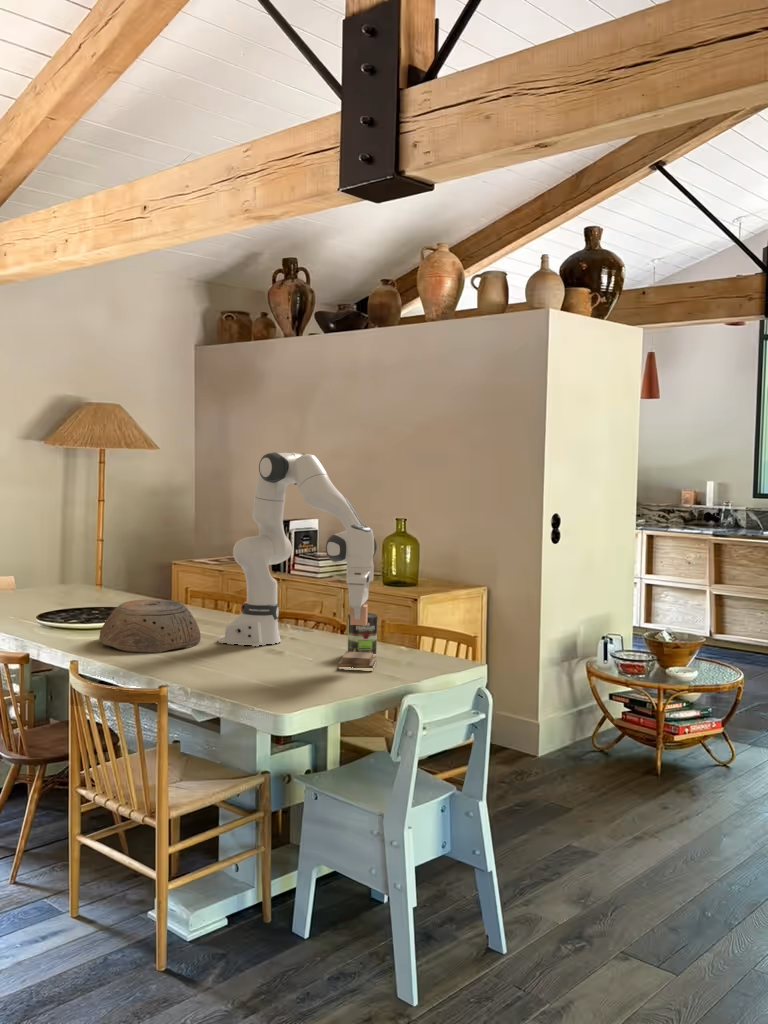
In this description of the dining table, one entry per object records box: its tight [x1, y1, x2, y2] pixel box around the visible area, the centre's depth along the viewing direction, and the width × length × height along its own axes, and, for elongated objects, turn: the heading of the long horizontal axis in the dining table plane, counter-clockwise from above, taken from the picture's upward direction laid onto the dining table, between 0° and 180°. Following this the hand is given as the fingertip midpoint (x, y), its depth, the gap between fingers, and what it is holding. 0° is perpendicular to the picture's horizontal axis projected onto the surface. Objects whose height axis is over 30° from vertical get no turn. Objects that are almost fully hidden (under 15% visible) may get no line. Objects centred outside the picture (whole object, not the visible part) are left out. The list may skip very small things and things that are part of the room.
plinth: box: [337, 651, 377, 668], centre depth 301 cm, size 11×11×4 cm
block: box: [349, 603, 369, 625], centre depth 300 cm, size 5×5×6 cm
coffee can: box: [346, 612, 379, 655], centre depth 319 cm, size 10×10×14 cm
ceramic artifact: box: [98, 598, 201, 653], centre depth 330 cm, size 35×36×15 cm
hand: (358, 617), depth 300 cm, fingers closed on block, 5 cm apart
